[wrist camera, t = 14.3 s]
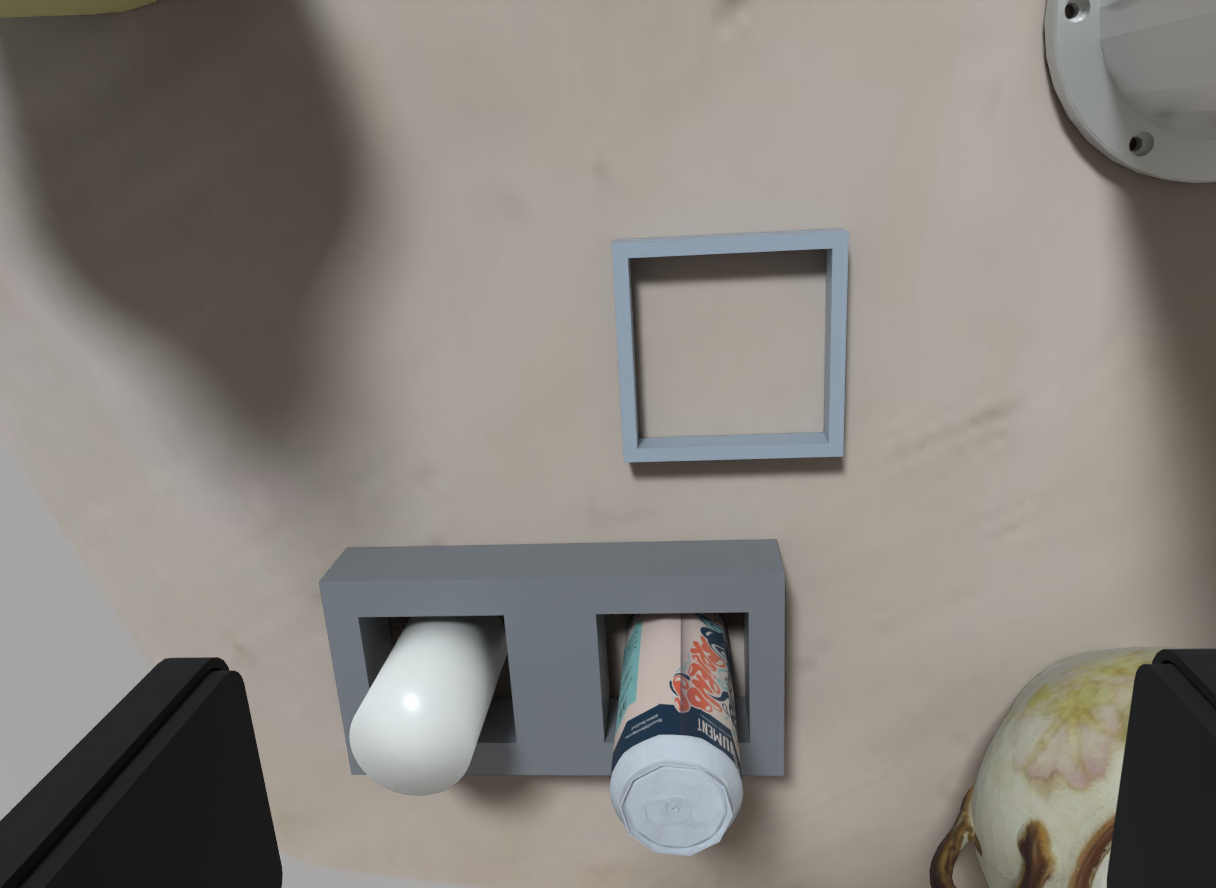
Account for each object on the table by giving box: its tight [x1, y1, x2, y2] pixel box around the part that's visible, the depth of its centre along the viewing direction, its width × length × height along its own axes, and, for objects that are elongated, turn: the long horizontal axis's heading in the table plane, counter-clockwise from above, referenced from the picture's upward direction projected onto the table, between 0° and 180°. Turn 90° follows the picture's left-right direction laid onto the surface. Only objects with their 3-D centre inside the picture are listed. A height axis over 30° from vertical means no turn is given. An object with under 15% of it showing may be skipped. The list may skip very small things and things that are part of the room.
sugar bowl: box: [930, 647, 1185, 888], centre depth 36 cm, size 20×15×15 cm
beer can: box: [610, 613, 743, 856], centre depth 38 cm, size 5×5×12 cm
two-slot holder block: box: [319, 539, 785, 796], centre depth 40 cm, size 20×10×8 cm, turn 93°
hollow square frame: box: [612, 228, 849, 463], centre depth 38 cm, size 9×9×2 cm
